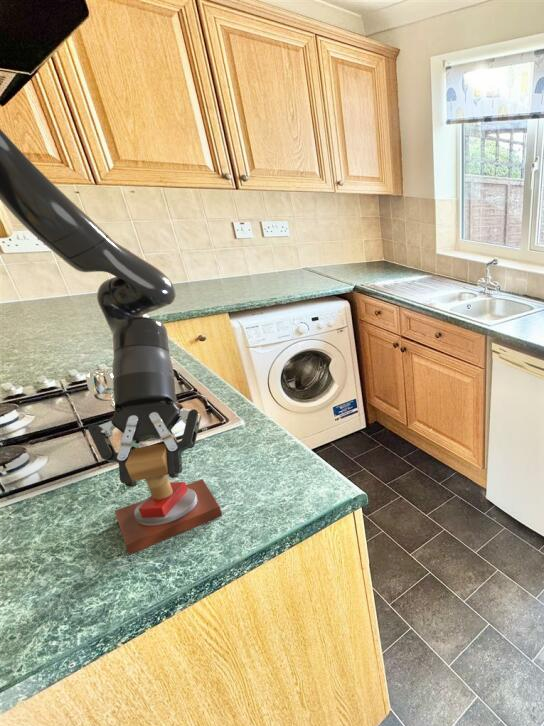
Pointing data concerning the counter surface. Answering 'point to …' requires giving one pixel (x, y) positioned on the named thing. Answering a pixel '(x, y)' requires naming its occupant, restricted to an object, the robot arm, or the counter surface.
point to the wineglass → (101, 385)
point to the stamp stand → (147, 536)
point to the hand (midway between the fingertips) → (152, 480)
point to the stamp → (158, 487)
